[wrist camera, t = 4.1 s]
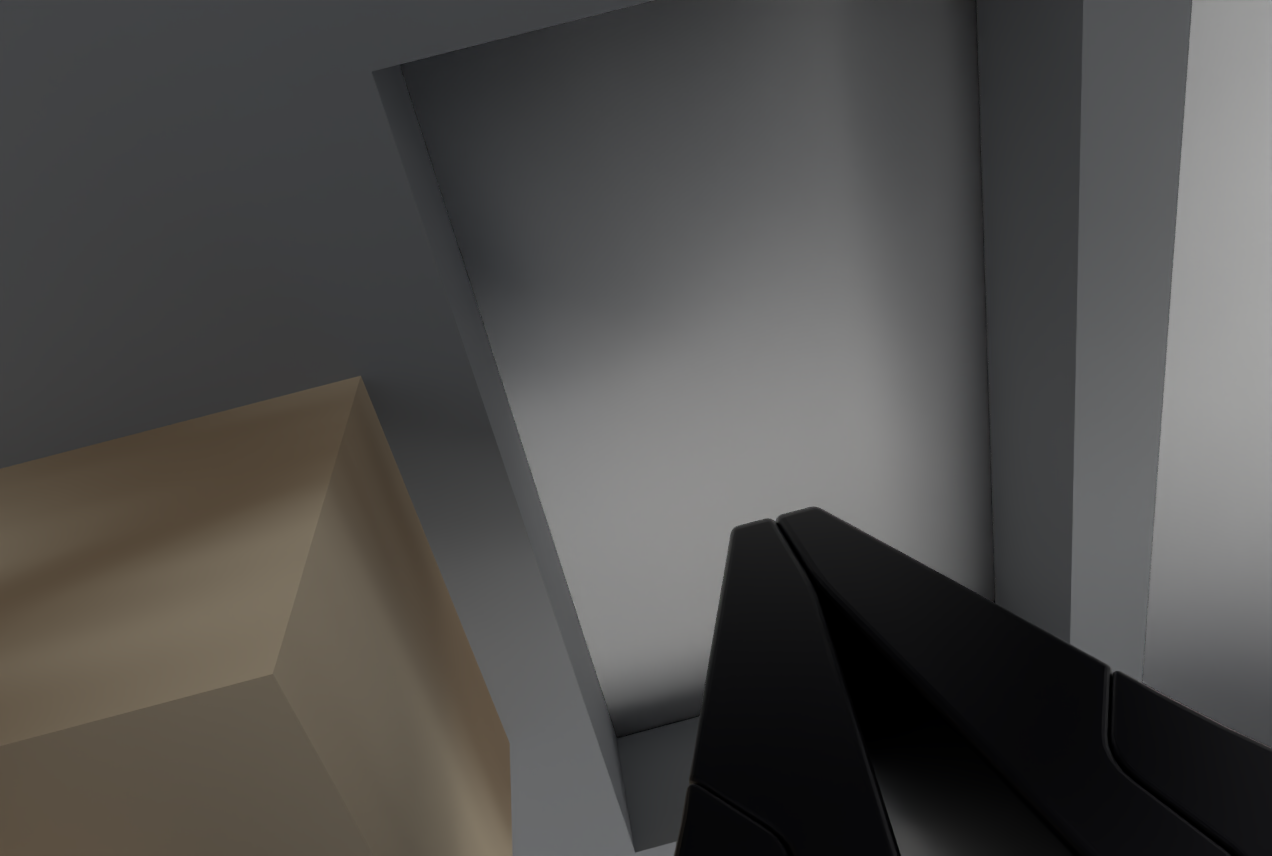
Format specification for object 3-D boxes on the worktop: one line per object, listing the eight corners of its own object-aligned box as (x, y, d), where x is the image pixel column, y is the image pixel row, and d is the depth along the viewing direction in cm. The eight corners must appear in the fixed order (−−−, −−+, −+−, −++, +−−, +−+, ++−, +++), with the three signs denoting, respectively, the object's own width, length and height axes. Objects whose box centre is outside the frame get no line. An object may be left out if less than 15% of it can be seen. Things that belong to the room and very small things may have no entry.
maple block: (360, 375, 9) (272, 673, 5) (509, 743, 11) (519, 1116, 8) (-168, 512, 9) (-628, 911, 5) (99, 852, 11) (-85, 1283, 7)
